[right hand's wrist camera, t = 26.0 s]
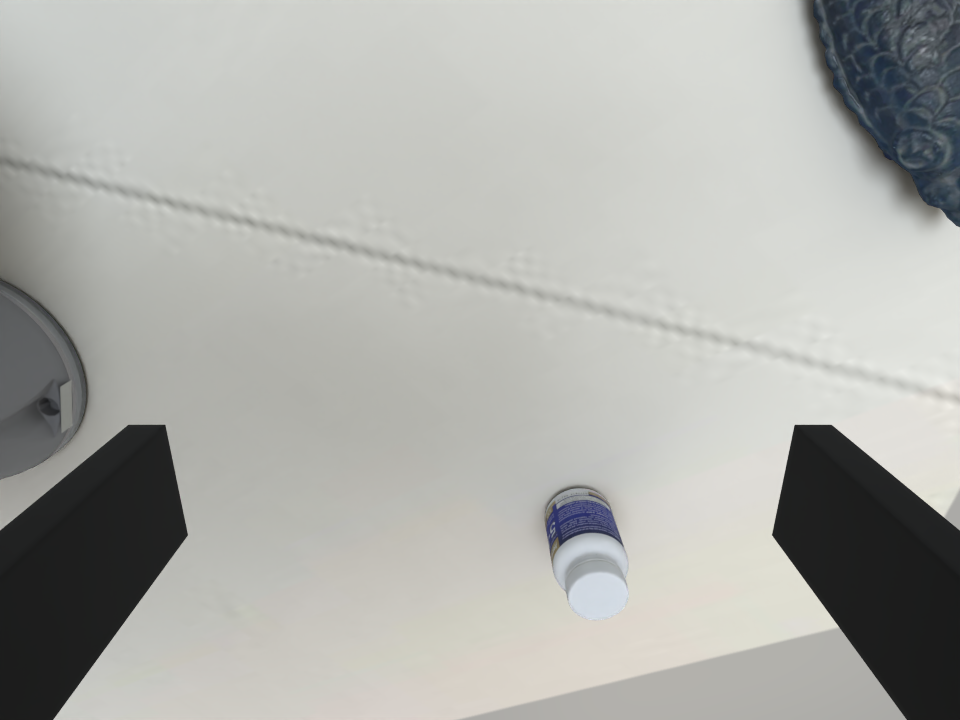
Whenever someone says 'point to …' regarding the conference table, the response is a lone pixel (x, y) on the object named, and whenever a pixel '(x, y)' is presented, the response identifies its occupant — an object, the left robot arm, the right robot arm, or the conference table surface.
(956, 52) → the fish model
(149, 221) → the conference table surface
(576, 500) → the pill bottle
